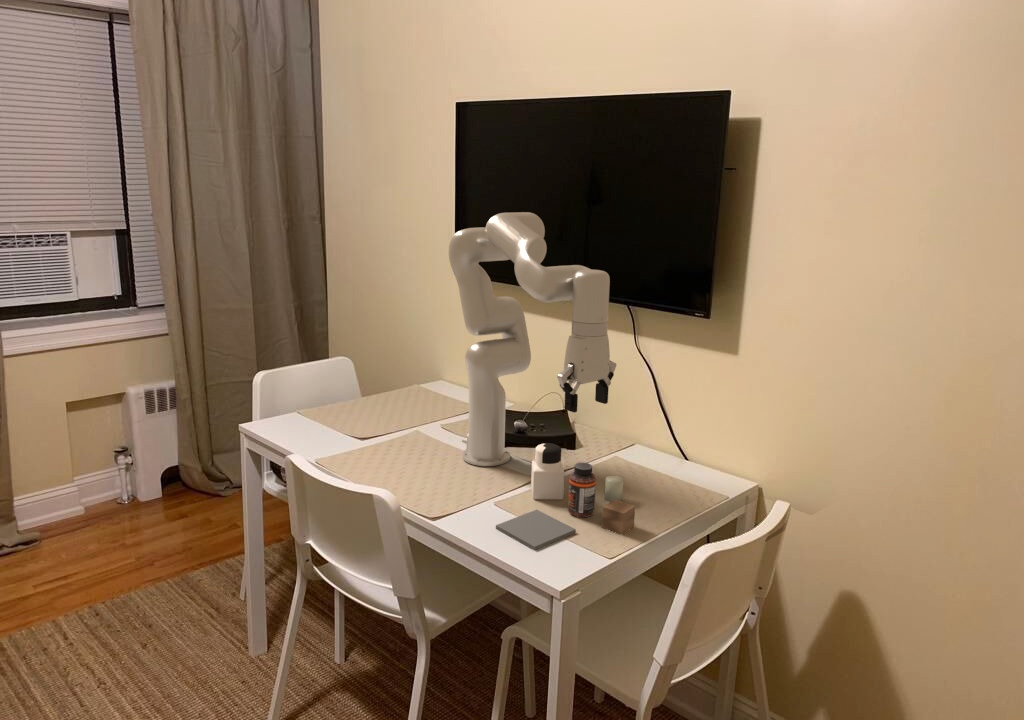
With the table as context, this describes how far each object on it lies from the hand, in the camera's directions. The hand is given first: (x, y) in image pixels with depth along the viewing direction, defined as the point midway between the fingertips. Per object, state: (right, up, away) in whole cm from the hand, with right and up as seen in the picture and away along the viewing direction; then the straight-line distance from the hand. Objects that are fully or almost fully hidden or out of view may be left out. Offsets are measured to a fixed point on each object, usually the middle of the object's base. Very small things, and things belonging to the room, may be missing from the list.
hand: (586, 406), depth 163 cm
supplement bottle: (-1, -24, +6) cm, 25 cm away
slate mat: (-11, -26, -3) cm, 29 cm away
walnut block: (+7, -26, 0) cm, 27 cm away
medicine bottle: (-8, -22, +15) cm, 28 cm away
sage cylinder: (+8, -23, +13) cm, 27 cm away
